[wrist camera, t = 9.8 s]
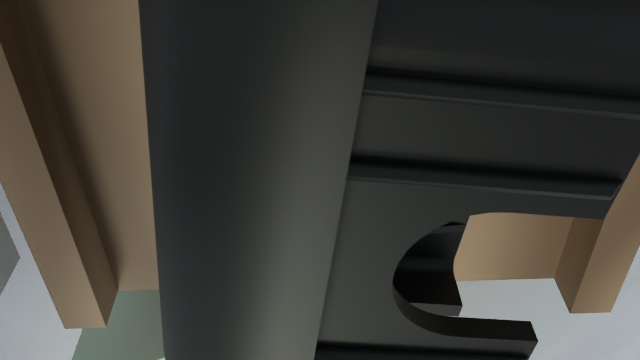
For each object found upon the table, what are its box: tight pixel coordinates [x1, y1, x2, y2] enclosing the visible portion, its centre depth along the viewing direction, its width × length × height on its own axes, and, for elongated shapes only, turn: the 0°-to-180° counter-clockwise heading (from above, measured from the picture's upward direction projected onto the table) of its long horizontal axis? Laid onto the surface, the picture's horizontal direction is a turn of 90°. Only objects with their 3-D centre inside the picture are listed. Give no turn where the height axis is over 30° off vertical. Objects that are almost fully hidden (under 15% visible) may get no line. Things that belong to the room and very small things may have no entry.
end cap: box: [138, 0, 640, 360], centre depth 12 cm, size 10×7×7 cm
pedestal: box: [0, 0, 640, 329], centre depth 15 cm, size 16×14×5 cm
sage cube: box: [72, 290, 165, 360], centre depth 23 cm, size 5×5×5 cm
